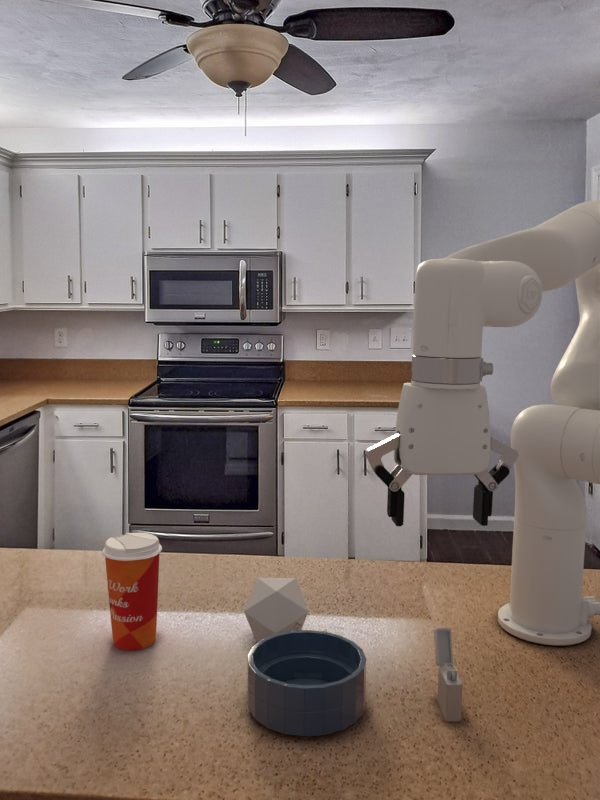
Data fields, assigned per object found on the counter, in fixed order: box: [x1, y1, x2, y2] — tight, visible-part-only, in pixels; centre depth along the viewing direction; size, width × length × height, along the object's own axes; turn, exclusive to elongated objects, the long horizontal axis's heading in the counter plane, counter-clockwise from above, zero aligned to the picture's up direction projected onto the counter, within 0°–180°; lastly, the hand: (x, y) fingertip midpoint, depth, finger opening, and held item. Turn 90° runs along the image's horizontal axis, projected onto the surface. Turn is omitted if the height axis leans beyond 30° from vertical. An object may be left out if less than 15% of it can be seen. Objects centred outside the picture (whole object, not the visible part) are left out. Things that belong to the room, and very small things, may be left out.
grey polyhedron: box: [243, 577, 309, 644], centre depth 99 cm, size 8×9×10 cm
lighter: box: [433, 627, 463, 722], centre depth 83 cm, size 7×2×8 cm, turn 2°
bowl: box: [247, 629, 367, 737], centre depth 83 cm, size 13×13×6 cm
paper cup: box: [101, 532, 163, 651], centre depth 97 cm, size 8×8×14 cm
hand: (438, 522), depth 83 cm, fingers open, 9 cm apart
